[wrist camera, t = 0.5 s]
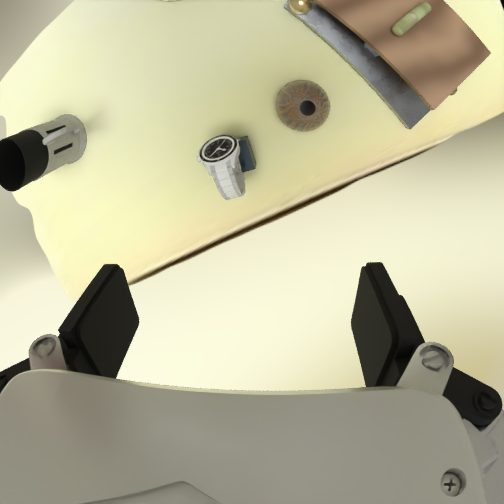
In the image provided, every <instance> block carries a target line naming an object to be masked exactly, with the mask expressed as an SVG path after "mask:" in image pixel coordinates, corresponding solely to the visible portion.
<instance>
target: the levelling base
mask: <svg viewBox="0 0 504 504" xmlns="http://www.w3.org/2000/svg"><path fill="white" fill-rule="evenodd" d="M284 8H285V9H286V10H288V11H289V12H290V13H292V14H293V15H294V16H295V17H297V18H298V19H299V20H300V21H302V22H303V23H304V24H305V25H307V26H308V27H309V28H310V29H311V30H312V31H314V32H315V33H316V34H317V35H318V36H319V37H321V38H322V39H323V40H324V41H325V42H326V43H327V44H328V45H329V46H331V47H332V48H333V49H334V50H335V51H336V52H337V53H338V54H339V55H340V56H341V57H342V58H343V59H344V60H345V61H346V62H347V63H348V64H349V65H350V66H351V67H352V68H353V69H354V70H355V71H356V72H357V73H358V74H359V75H360V76H361V77H362V78H363V79H364V80H365V81H366V82H367V83H368V84H369V85H370V86H371V87H372V88H373V90H374V91H375V92H376V93H377V94H378V95H379V96H380V97H381V98H382V100H383V101H384V102H385V103H386V104H387V105H388V106H389V108H390V109H391V110H392V111H393V112H394V114H395V115H396V116H397V117H398V118H399V120H400V121H401V122H402V123H403V125H404V126H405V127H406V128H407V129H411V128H412V127H413V126H414V125H415V124H417V123H418V122H419V121H420V120H421V119H422V118H423V117H424V116H425V115H426V114H427V113H428V112H429V111H430V108H429V107H428V106H427V105H426V104H425V102H424V101H423V100H422V99H421V98H420V97H419V96H418V94H417V93H416V92H415V91H414V90H413V89H412V88H411V87H410V86H409V85H408V83H407V82H406V81H405V80H404V79H403V78H402V77H401V76H400V75H399V74H398V73H397V72H396V71H395V70H394V69H393V68H392V67H391V66H390V65H389V64H388V63H387V62H386V61H385V60H384V59H383V58H382V57H381V56H380V55H379V54H378V53H377V52H376V51H374V50H373V49H372V48H371V47H370V46H369V45H368V44H367V43H366V42H364V41H363V40H362V39H361V38H360V37H359V36H358V35H356V34H355V33H354V32H353V31H352V30H350V29H349V28H348V27H347V26H346V25H344V24H343V23H342V22H341V21H339V20H338V19H337V18H336V17H334V16H333V15H332V14H330V13H329V12H328V11H326V10H325V9H324V8H322V7H321V6H320V5H318V4H317V3H315V1H314V0H289V1H288V2H287V3H286V4H285V5H284ZM456 91H457V88H456V89H455V90H454V91H453V92H452V93H451V94H450V95H454V94H455V93H456Z"/></svg>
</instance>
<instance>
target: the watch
mask: <svg viewBox="0 0 504 504" xmlns="http://www.w3.org/2000/svg"><path fill="white" fill-rule="evenodd" d="M197 160H198V162H201V161H202V162H203V164H204V165H205V167H206V169H207V171H208V172H209V174H210V175H212V176H213V178H214V181H215V183H216V186H217V188H218V190H219V192H220V193H221V195H222V196H223V197H224V198H225V199H227V200H228V199H232V198H236V197H239V196H243V195H244V193H245V181H244V180H245V177H244V174H243V172H246V171H249V170H253V169H255V167H256V161H255V158H254V155H253V152H252V149H251V145H250V142H249V139H248V136H245V137H242V138H238V139H236V138H235V137H234V136H232V135H219V136H216V137H214V138H212V139H210V140H208V141H207V142H206V143H205V144H204V145H203V146H202V148H201V149H200V151H199V156H197Z"/></svg>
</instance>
